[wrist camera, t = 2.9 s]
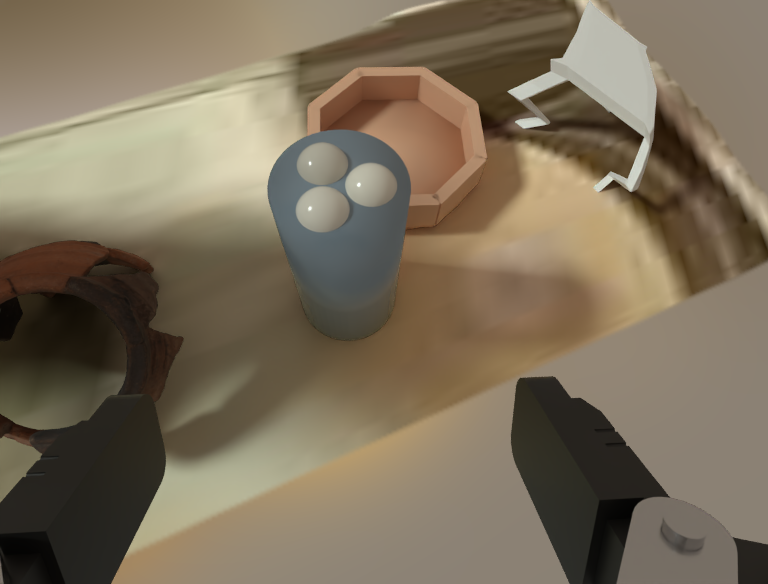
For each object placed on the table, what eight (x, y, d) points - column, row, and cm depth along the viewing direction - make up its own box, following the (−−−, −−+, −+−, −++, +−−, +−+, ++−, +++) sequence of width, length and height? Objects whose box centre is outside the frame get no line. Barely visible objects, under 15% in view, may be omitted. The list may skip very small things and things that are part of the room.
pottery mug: (212, 260, 27) (187, 267, 19) (182, 421, 28) (144, 494, 20) (-34, 212, 24) (-185, 196, 16) (-63, 392, 25) (-224, 463, 17)
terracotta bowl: (311, 232, 27) (306, 208, 25) (312, 99, 31) (308, 68, 29) (484, 227, 28) (495, 203, 26) (463, 97, 32) (471, 66, 30)
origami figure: (475, 89, 32) (493, 23, 28) (577, 54, 34) (610, -13, 30) (575, 230, 28) (614, 179, 24) (686, 183, 30) (743, 127, 25)
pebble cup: (301, 342, 25) (261, 242, 15) (302, 256, 27) (267, 118, 17) (397, 338, 25) (418, 237, 15) (391, 253, 27) (406, 116, 17)
